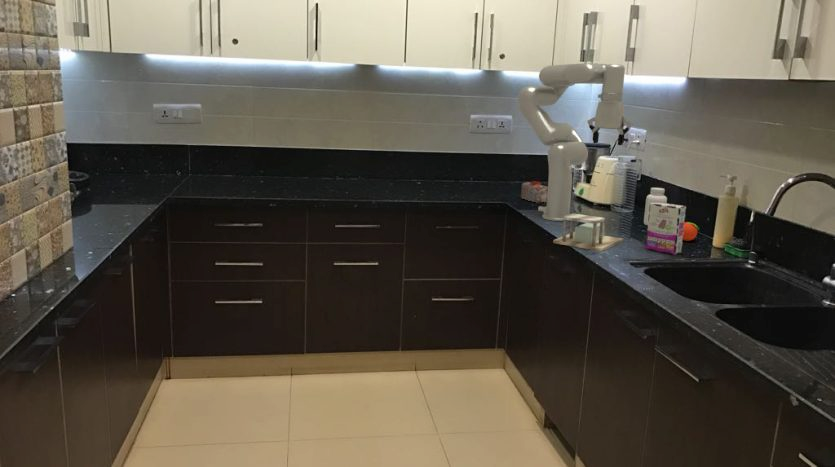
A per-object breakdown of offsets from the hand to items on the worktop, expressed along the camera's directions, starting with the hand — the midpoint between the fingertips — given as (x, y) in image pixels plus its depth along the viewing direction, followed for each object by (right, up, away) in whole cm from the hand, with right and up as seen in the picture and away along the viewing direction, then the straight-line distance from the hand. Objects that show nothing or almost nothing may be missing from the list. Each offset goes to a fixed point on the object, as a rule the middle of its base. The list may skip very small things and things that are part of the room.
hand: (607, 144), depth 265 cm
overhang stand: (-10, -37, -14) cm, 41 cm away
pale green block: (-10, -36, -14) cm, 40 cm away
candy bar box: (+13, -40, -24) cm, 48 cm away
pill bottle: (+24, -31, +19) cm, 43 cm away
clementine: (+27, -37, -8) cm, 47 cm away
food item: (-17, -19, +65) cm, 70 cm away
